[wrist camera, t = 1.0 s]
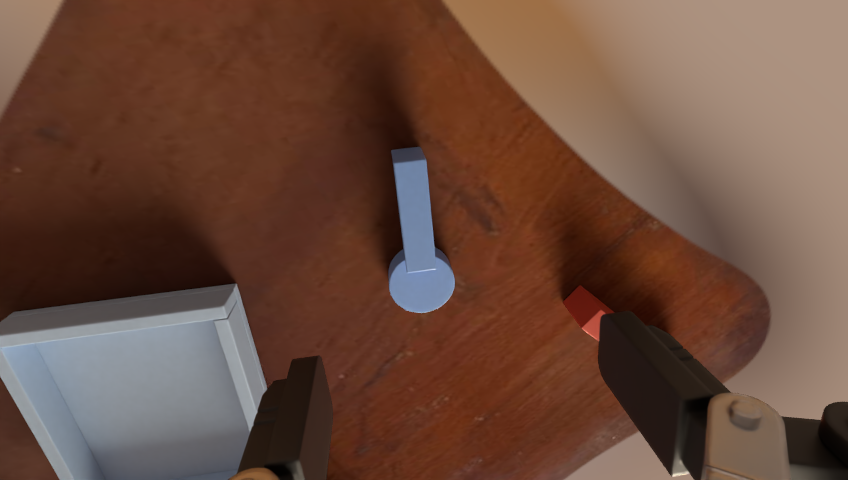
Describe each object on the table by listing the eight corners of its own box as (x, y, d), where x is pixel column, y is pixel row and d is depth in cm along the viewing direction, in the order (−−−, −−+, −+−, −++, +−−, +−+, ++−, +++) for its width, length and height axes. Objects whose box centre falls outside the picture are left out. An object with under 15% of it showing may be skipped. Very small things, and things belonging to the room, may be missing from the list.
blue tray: (13, 311, 26) (-23, 337, 24) (236, 282, 27) (223, 305, 24) (107, 490, 32) (85, 525, 30) (289, 462, 33) (282, 495, 30)
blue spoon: (370, 152, 25) (370, 165, 22) (440, 144, 25) (448, 156, 22) (392, 304, 28) (394, 331, 26) (453, 296, 29) (461, 322, 26)
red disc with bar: (550, 314, 30) (567, 341, 27) (592, 272, 29) (615, 295, 26) (640, 381, 33) (664, 411, 30) (681, 345, 32) (710, 373, 29)
